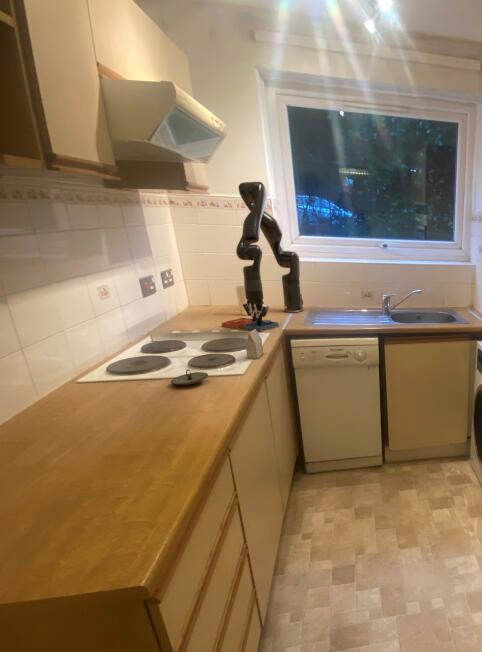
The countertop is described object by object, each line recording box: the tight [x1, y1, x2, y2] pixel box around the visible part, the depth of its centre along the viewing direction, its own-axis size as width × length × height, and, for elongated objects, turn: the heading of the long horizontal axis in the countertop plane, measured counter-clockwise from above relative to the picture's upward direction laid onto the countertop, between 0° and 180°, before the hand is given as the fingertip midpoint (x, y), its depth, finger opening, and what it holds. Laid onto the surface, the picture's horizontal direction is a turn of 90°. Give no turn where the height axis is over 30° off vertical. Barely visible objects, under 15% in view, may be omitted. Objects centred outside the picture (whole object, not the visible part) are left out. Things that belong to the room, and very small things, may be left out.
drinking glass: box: [235, 285, 248, 316], centre depth 234 cm, size 7×7×15 cm
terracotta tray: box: [221, 317, 253, 330], centre depth 214 cm, size 13×10×2 cm
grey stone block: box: [244, 329, 264, 359], centre depth 168 cm, size 4×7×10 cm, turn 5°
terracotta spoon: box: [231, 319, 251, 324], centre depth 214 cm, size 10×3×2 cm, turn 163°
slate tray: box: [241, 321, 279, 333], centre depth 211 cm, size 13×10×2 cm
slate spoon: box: [251, 319, 272, 327], centre depth 210 cm, size 10×3×2 cm, turn 163°
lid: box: [170, 369, 209, 386], centre depth 139 cm, size 11×10×5 cm
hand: (257, 325), depth 209 cm, fingers closed on slate spoon, 2 cm apart
